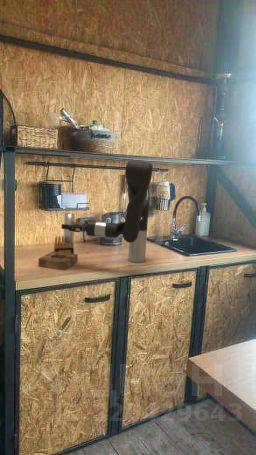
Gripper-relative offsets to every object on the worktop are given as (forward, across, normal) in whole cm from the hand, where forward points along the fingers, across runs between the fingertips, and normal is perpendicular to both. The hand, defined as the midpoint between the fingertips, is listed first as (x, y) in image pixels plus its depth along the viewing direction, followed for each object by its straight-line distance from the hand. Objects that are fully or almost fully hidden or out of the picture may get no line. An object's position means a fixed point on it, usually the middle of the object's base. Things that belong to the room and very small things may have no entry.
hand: (63, 225), depth 180 cm
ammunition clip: (+5, -15, +20) cm, 26 cm away
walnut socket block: (+3, -1, +20) cm, 20 cm away
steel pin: (-3, 0, +8) cm, 8 cm away
